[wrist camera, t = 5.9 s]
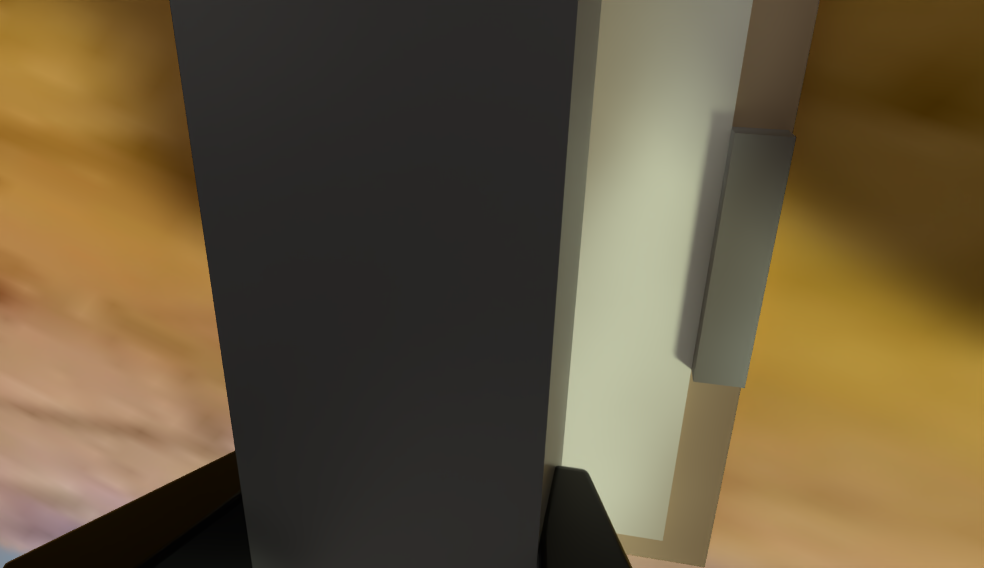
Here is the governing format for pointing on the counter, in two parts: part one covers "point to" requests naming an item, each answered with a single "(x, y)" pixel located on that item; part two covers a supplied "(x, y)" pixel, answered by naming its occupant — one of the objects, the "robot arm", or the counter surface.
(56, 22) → the counter surface
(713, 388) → the cream flat piece
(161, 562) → the robot arm
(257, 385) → the dark gray rectangular block
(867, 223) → the counter surface
